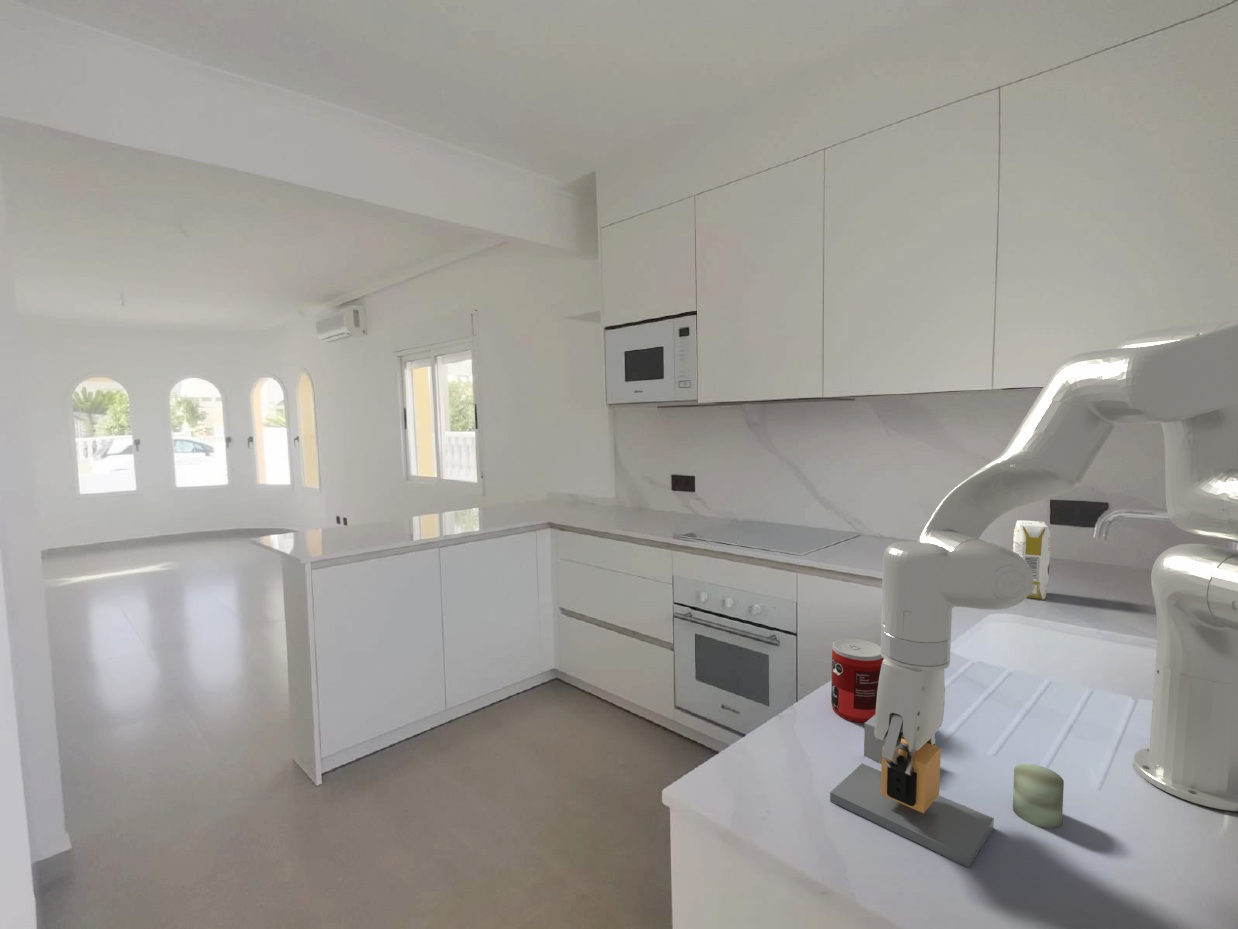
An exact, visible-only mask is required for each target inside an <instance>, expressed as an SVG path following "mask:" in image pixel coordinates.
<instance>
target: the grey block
mask: <svg viewBox="0 0 1238 929" xmlns="http://www.w3.org/2000/svg"><path fill="white" fill-rule="evenodd" d="M874 730H875V715H874V716H873V717H872V718H870V719H869V720H868V721H867V722H865V723H864V734H863V735H864V737H863V738H864V739H863V740H864V741H863V756H864V757H866V758H869V759H871V760H873V761H876V762H878V763H881V764H882V748H883V747H884V744H885V741H886V738H884V739H883V740H877V739H876V737H875V734H874Z"/></svg>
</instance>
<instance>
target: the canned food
mask: <svg viewBox="0 0 1238 929" xmlns="http://www.w3.org/2000/svg"><path fill="white" fill-rule="evenodd" d="M883 660H884V658H883V657H882V656H881V645H879V644H877V643H874V642H873V641H869V640H865V639H861V638H860V639H858V638H840V639H837V640H835V641H833V642H832V648H831V688H830V689H831V690H830V691H831V694H830V696H831V697H830V698H831V699H830V702H831V708H832V710H833V712H834V713H835V714H836V715H838V716H839V717H841V718H843V719H845V720H846V721H850V722H855V723H861V724H862V723H863V724H865V722H867V721H868V720H869V719H870V718H872V717H873V716H874V715H875V714H876V702H877V691H878V683H879V676H880V671H881V666H882V662H883Z"/></svg>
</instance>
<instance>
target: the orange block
mask: <svg viewBox="0 0 1238 929" xmlns="http://www.w3.org/2000/svg"><path fill="white" fill-rule="evenodd" d="M901 742H903V743H906V744H908V745H909V743H908V742H906V741H905V739H901ZM883 748H884V747H883ZM883 748H882V751H883ZM941 749H942V747H940V746H938V745H937V746H935V745H932V744H929V743H925V744H924V745H923V746H922V747H921V748H920V749H919V750H917V751H916V756H915V764H914V771H913V772H915V773H917V786H916V804H915V805H914V806H910V805H907V804H905V803H903V802H900V801H898V800H896V799H894V798H891V797H889V796H888V795H887V765H886V762H887V761H886V760H885V759H884V758H883V757H882V763H881V771H882V775H881V795H883V796H885V797H888V798H890V799H892V800H894V801H897V802H899V803H901V804H903V805H906V806H908V807H910V808H913V809H915V810H917V811H919V812H922V813H925V811H926V810H927V809H928V808H929V806H930V805H931V804H932V803H933V801H934V800H935V799H936V798H937V796H938V795H939V796H940V778H941V751H942V750H941ZM899 754H900V756H903V757H904V758H905V760H906V761H907V755H908V752H906V751H904V750H901V749H899Z"/></svg>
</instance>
